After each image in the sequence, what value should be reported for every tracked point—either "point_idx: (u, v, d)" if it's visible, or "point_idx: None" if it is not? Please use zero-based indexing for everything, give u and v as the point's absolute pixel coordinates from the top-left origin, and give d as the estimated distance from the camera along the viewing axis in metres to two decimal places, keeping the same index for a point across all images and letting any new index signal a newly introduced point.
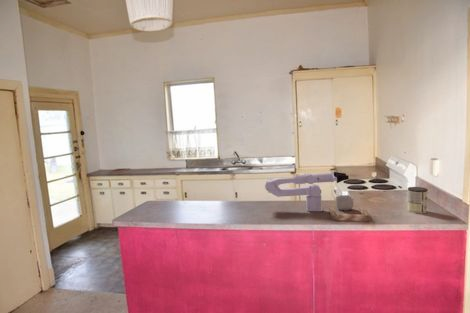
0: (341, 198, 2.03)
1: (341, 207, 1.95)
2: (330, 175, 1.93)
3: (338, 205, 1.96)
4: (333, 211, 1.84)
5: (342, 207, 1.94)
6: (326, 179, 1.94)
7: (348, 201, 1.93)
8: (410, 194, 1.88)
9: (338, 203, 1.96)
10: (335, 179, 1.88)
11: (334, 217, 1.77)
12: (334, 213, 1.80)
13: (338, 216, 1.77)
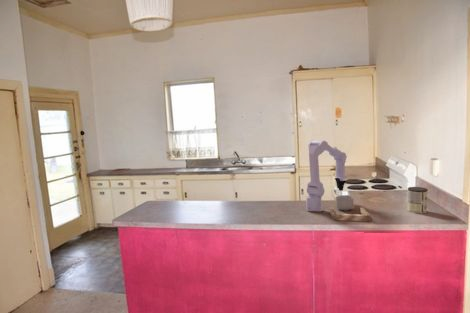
0: (341, 198, 2.03)
1: (341, 207, 1.95)
2: (343, 175, 2.10)
3: (338, 205, 1.96)
4: (333, 211, 1.84)
5: (342, 207, 1.94)
6: (339, 171, 2.10)
7: (348, 201, 1.93)
8: (410, 194, 1.88)
9: (338, 203, 1.96)
10: (341, 179, 2.06)
11: (334, 217, 1.77)
12: (334, 213, 1.80)
13: (338, 216, 1.77)
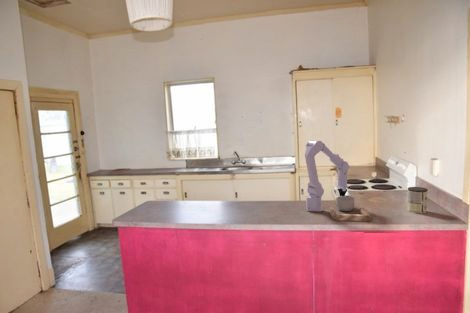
0: (342, 199, 2.01)
1: (342, 208, 1.93)
2: (345, 185, 2.02)
3: (339, 206, 1.94)
4: (333, 211, 1.84)
5: (343, 208, 1.92)
6: (342, 181, 2.02)
7: (349, 202, 1.91)
8: (410, 194, 1.88)
9: (339, 204, 1.94)
10: (344, 189, 1.98)
11: (334, 217, 1.77)
12: (334, 213, 1.80)
13: (338, 216, 1.77)
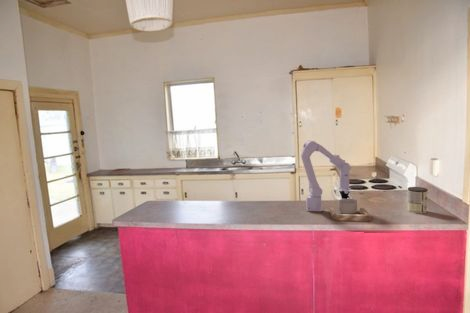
0: (344, 201, 1.94)
1: (344, 211, 1.86)
2: (347, 187, 1.95)
3: (341, 209, 1.87)
4: (333, 211, 1.84)
5: (345, 211, 1.85)
6: (344, 183, 1.95)
7: (352, 205, 1.84)
8: (410, 194, 1.88)
9: (341, 207, 1.87)
10: (346, 192, 1.91)
11: (334, 217, 1.77)
12: (334, 213, 1.80)
13: (338, 216, 1.77)
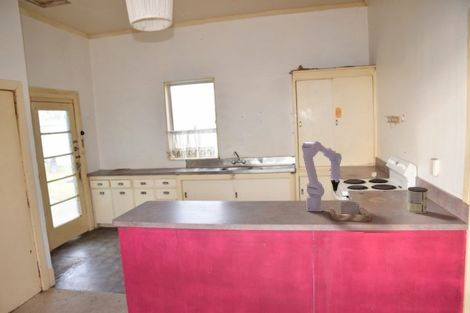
0: (345, 204, 1.88)
1: None
2: (338, 176, 2.06)
3: (343, 212, 1.82)
4: (333, 211, 1.84)
5: None
6: (334, 172, 2.06)
7: (354, 207, 1.79)
8: (410, 194, 1.88)
9: (343, 209, 1.81)
10: (336, 180, 2.02)
11: (334, 217, 1.77)
12: (334, 213, 1.80)
13: (338, 216, 1.77)
